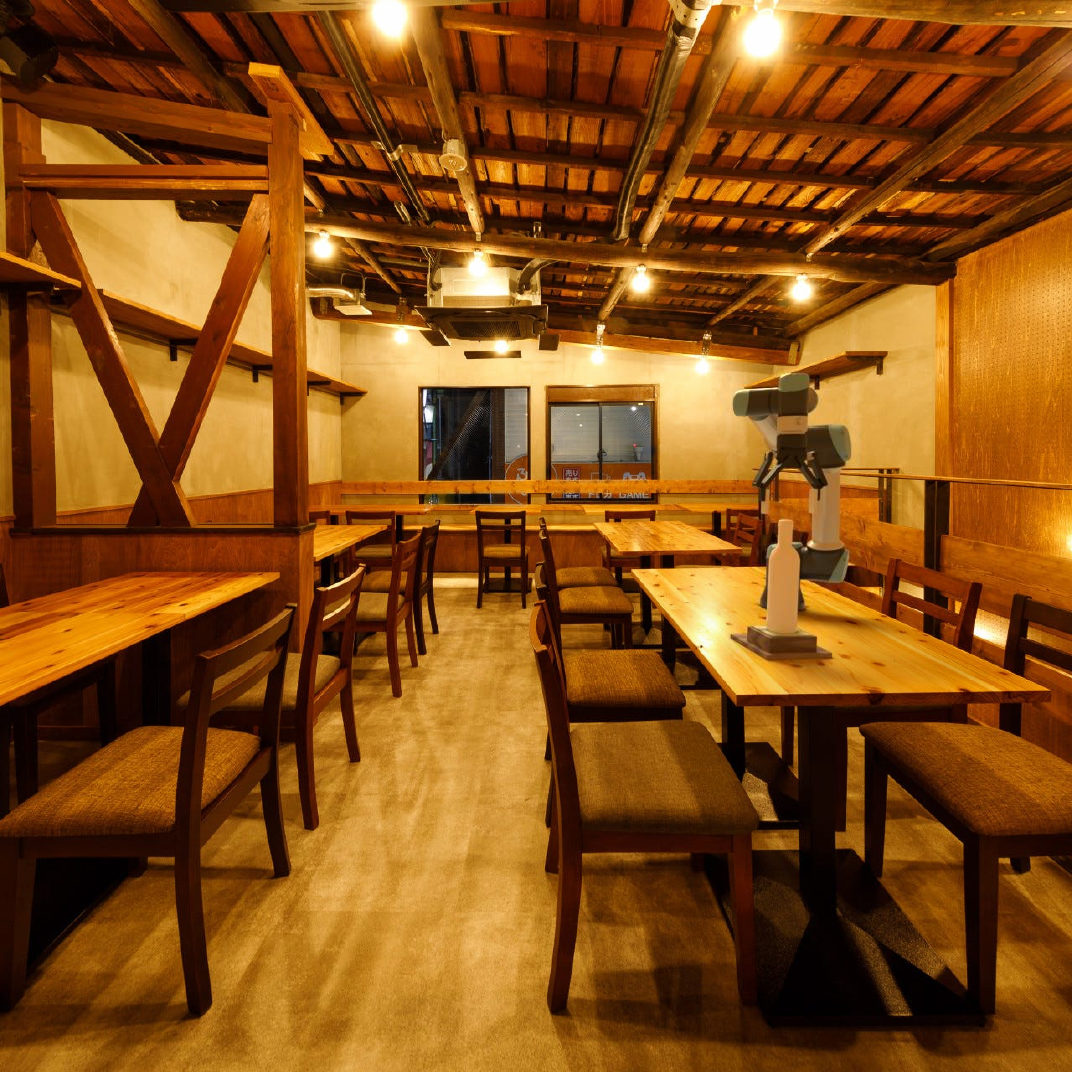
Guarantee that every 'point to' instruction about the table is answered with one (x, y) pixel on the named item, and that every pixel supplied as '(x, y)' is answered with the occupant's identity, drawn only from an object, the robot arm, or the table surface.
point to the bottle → (783, 583)
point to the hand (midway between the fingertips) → (788, 513)
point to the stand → (780, 644)
